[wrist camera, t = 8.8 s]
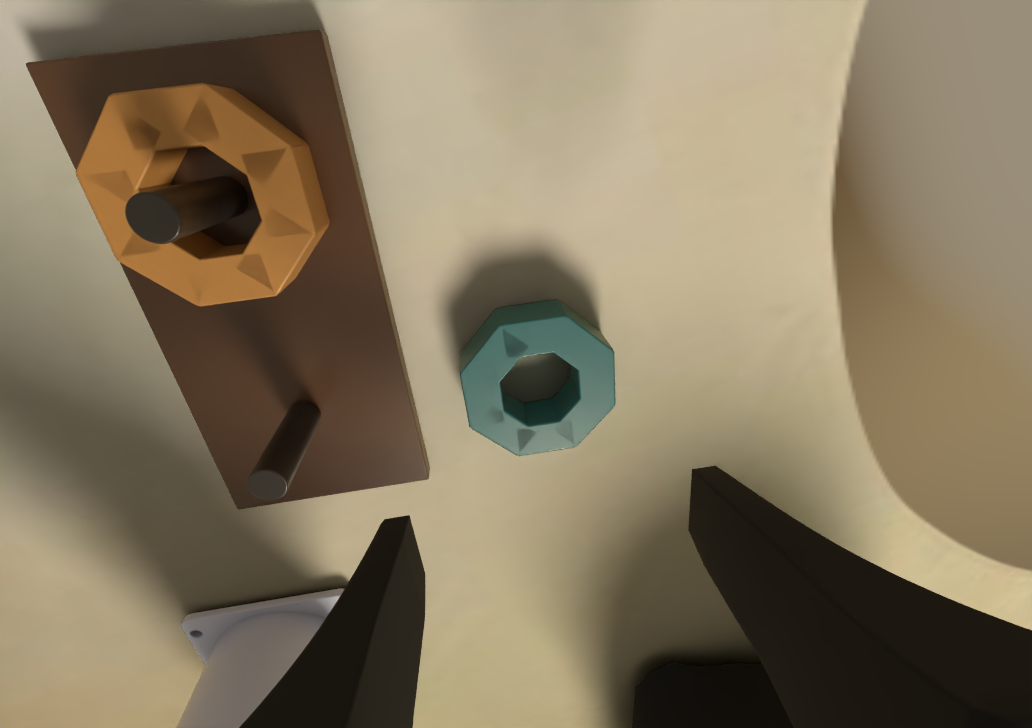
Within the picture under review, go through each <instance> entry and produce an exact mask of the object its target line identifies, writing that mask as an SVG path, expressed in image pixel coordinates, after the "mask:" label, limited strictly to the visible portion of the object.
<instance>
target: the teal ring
mask: <svg viewBox="0 0 1032 728" xmlns="http://www.w3.org/2000/svg"><path fill="white" fill-rule="evenodd" d="M547 353H555V354H556V355H557V356H559V357H560V358H562V359H563V360H564V361H566V362H567V363H569V366H570V379H569V380H568V381H567V382H566V383H565V385H564V386H563V387H562V388H561V389H560V390H559V391H558V392H557V393H556V395H555V396H554V397H553V398H552V399H547V400H540V401H534V402H527V403H522V402H520V401H519V400H517V399H516V398H514V397H513V396H511V395H510V394H508V393H506V392H505V391H503V390H502V389H501V385H500V381H501V380H502V379H503V378H504V377H505V375H506V374H507V373H508V372H509V371H510V369H511V368H512V367H513V366H514V365H515V364H516V362H517V361H518V360H519V359H520V358H521V357H526V356H533V355H540V354H547ZM460 378H461V383H462V389H463V394H464V400H465V405H466V410H467V416H468V421H469V427H470V428H472V429H473V430H475V431H476V432H478V433H480V434H481V435H483V436H485V437H486V438H488V439H490V440H492V441H493V442H495V443H497V444H498V445H500V446H502V447H503V448H505V449H507V450H508V451H510V452H512V453H513V454H515V455H518V456H523V455H529V454H536V453H542V452H548V451H555V450H561V449H567V448H574V447H575V446H577V445H578V444H579V443H580V442H581V441H582V440H583V439H584V438H585V437H586V436H587V435H588V434H589V433H590V432H591V430H592V429H593V428H594V427H595V426H596V425H597V424H598V423H599V422H600V421H601V420H602V419H603V418H604V417H605V416H606V415H607V414H608V413H609V412H610V411H611V409H612V408H613V407H614V405H615V367H614V351H613V349H612V347H611V346H610V345H609V343H608V342H607V340H606V339H605V338H604V336H603V335H602V333H601V332H600V331H598V330H597V329H596V328H595V327H593V326H592V325H591V324H589V323H588V322H587V321H585V320H584V319H583V318H581V317H580V316H579V315H577V314H576V313H575V312H574V311H572V310H571V309H570V308H568V307H567V306H566V305H564V304H563V303H562V302H560V301H559V300H550V301H543V302H536V303H529V304H522V305H515V306H508V307H501V308H497V309H495V310H494V311H493V313H492V314H491V315H490V316H489V318H488V319H487V320H486V321H485V323H484V324H483V325H482V326H481V328H480V329H479V330H478V331H477V333H476V334H475V335H474V336H473V338H472V339H471V340H470V342H469V343H468V344H467V345H466V347H465V348H464V349H463V350H462V352H461V353H460Z"/></svg>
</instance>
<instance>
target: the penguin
mask: <svg viewBox="0 0 1032 728" xmlns="http://www.w3.org/2000/svg"><path fill="white" fill-rule="evenodd" d="M632 728H794V727H793V725H792V723H791V721H790V719H789V716H788V714H787V712H786V710H785V708H784V706H783V704H782V702H781V700H780V698H779V696H778V694H777V692H776V690H775V688H774V686H773V684H772V681H771V679H770V677H769V675H768V673H767V671H766V669H765V668H764V666H763V664H726V665H716V666H707V667H695V666H691V665H686V664H681V663H677V662H672V663H670V664H667V665H665V666H663V667H661V668H659V669H657V670H655V671H653V672H651V673H649V674H648V675H647V676H646V677H645V678H644V679H643V680H642V681H641V682H640V683H638V684H637V685H636V686H635V700H634V713H633V727H632Z"/></svg>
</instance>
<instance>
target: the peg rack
mask: <svg viewBox="0 0 1032 728" xmlns="http://www.w3.org/2000/svg"><path fill="white" fill-rule="evenodd" d="M26 66H27V68H28V70H29V73H30V75H31V77H32V79H33V81H34V83H35V85H36V87H37V89H38V91H39V94H40V96H41V98H42V100H43V102H44V104H45V106H46V108H47V110H48V112H49V115H50V117H51V119H52V121H53V123H54V125H55V127H56V129H57V131H58V133H59V136H60V138H61V140H62V142H63V144H64V146H65V148H66V150H67V152H68V154H69V157H70V159H71V161H72V163H73V165H74V167H75V169H77V167H78V165H79V162H80V160H81V158H82V155H83V153H84V151H85V149H86V146H87V144H88V142H89V139H90V137H91V135H92V133H93V130H94V128H95V126H96V123H97V121H98V119H99V117H100V114H101V112H102V110H103V107H104V105H105V103H106V101H107V98H108V96H110V95H111V94H113V93H121V92H130V91H138V90H147V89H155V88H164V87H172V86H181V85H189V84H198V83H205V84H210V85H216V86H221V87H227V88H232V89H235V90H236V91H237V92H239V93H240V94H241V95H243V96H244V97H245V98H247V99H248V100H250V101H251V102H252V103H254V104H255V105H256V106H258V107H259V108H260V109H262V110H263V111H264V112H266V113H267V114H269V115H270V116H271V117H273V118H274V119H275V120H277V121H278V122H279V123H281V124H282V125H283V126H285V127H286V128H288V129H289V130H290V131H292V132H293V133H294V134H296V135H297V136H298V137H300V138H301V139H302V140H304V141H305V142H307V144H308V145H309V148H310V152H311V155H312V159H313V163H314V166H315V170H316V174H317V177H318V181H319V184H320V188H321V192H322V195H323V199H324V203H325V206H326V210H327V214H328V217H329V221H330V223H329V226H328V228H327V229H326V231H325V232H324V234H323V235H322V237H321V239H320V240H319V242H318V243H317V245H316V247H315V248H314V250H313V251H312V253H311V254H310V256H309V258H308V259H307V261H306V262H305V264H304V266H303V267H302V269H301V270H300V272H299V273H298V275H297V277H296V278H295V279H294V280H293V281H292V282H291V283H290V284H289V285H288V286H287V287H286V288H285V289H283V290H282V291H281V292H280V293H279V294H278V295H277V296H272V297H265V298H258V299H251V300H243V301H236V302H229V303H222V304H215V305H207V306H197V305H195V304H193V303H191V302H190V301H188V300H186V299H184V298H183V297H181V296H179V295H177V294H176V293H174V292H172V291H170V290H168V289H167V288H165V287H163V286H161V285H160V284H158V283H156V282H154V281H153V280H151V279H149V278H147V277H145V276H144V275H142V274H140V273H138V272H137V271H135V270H133V269H131V268H130V267H128V266H126V265H124V264H122V263H121V262H120V264H121V266H122V268H123V270H124V272H125V274H126V276H127V278H128V280H129V282H130V285H131V287H132V289H133V291H134V293H135V295H136V297H137V299H138V301H139V303H140V306H141V308H142V310H143V312H144V314H145V316H146V318H147V320H148V322H149V324H150V327H151V329H152V331H153V333H154V335H155V337H156V339H157V341H158V343H159V345H160V348H161V350H162V352H163V354H164V356H165V358H166V360H167V362H168V364H169V366H170V368H171V371H172V373H173V375H174V377H175V379H176V381H177V383H178V385H179V387H180V389H181V392H182V394H183V396H184V398H185V400H186V402H187V404H188V406H189V408H190V410H191V413H192V415H193V417H194V419H195V421H196V423H197V425H198V427H199V429H200V431H201V434H202V436H203V438H204V440H205V442H206V444H207V446H208V448H209V450H210V452H211V455H212V457H213V459H214V461H215V463H216V465H217V467H218V469H219V471H220V473H221V476H222V478H223V480H224V482H225V484H226V486H227V488H228V490H229V492H230V494H231V497H232V499H233V501H234V503H235V505H236V507H237V509H244V508H251V507H257V506H263V505H270V504H276V503H282V502H288V501H295V500H301V499H307V498H314V497H320V496H326V495H332V494H339V493H345V492H351V491H357V490H364V489H370V488H376V487H383V486H389V485H395V484H401V483H408V482H414V481H420V480H427V479H429V471H430V467H429V463H428V458H427V454H426V450H425V446H424V442H423V437H422V433H421V429H420V425H419V420H418V416H417V412H416V408H415V404H414V399H413V395H412V391H411V387H410V383H409V378H408V374H407V370H406V366H405V361H404V357H403V353H402V349H401V345H400V340H399V336H398V332H397V328H396V324H395V319H394V315H393V311H392V307H391V302H390V298H389V294H388V290H387V286H386V281H385V277H384V273H383V269H382V265H381V260H380V256H379V252H378V248H377V243H376V239H375V235H374V231H373V227H372V222H371V218H370V214H369V210H368V205H367V201H366V197H365V193H364V189H363V184H362V180H361V176H360V172H359V168H358V163H357V159H356V155H355V151H354V146H353V142H352V138H351V134H350V130H349V125H348V121H347V117H346V113H345V109H344V104H343V100H342V96H341V92H340V87H339V83H338V79H337V75H336V71H335V66H334V62H333V58H332V54H331V50H330V45H329V41H328V37H327V35H326V34H325V33H324V32H322V31H321V30H319V29H318V30H309V31H300V32H291V33H282V34H274V35H265V36H256V37H247V38H239V39H230V40H221V41H212V42H203V43H195V44H186V45H177V46H168V47H159V48H151V49H142V50H133V51H124V52H116V53H107V54H98V55H89V56H80V57H72V58H63V59H54V60H45V61H37V62H28V63H26ZM171 184H172V186H169V187H164V188H159V189H154V190H149V191H144V192H139V193H136V194H135V195H133V196H132V197H131V198H130V199H129V200H128V202H127V204H126V208H125V215H126V219H127V222H128V224H129V226H130V227H131V229H132V230H133V231H134V232H135V233H136V234H137V235H138V236H140V237H141V238H143V239H144V240H146V241H149V242H152V243H156V244H167V243H170V242H173V241H175V240H178V239H181V238H183V237H186V236H188V235H191V234H193V233H196V232H198V231H201V232H203V233H204V234H206V235H207V236H209V237H211V238H212V239H214V240H216V241H217V242H219V243H220V244H222V245H224V246H230V245H238V244H245V243H248V242H249V241H250V239H251V237H252V235H253V234H254V232H255V230H256V229H257V227H258V225H259V223H260V222H261V220H262V219H261V216H260V213H259V210H258V207H257V204H256V201H255V198H254V195H253V192H252V189H251V186H250V183H249V180H248V177H247V175H246V174H244V173H243V172H242V171H240V170H239V169H237V168H236V167H234V166H233V165H231V164H230V163H228V162H227V161H225V160H224V159H222V158H221V157H220V156H218V155H217V154H215V153H214V152H212V151H211V150H209V149H208V148H206V147H198V148H190V149H188V150H187V152H186V154H185V156H184V158H183V160H182V162H181V164H180V166H179V168H178V170H177V172H176V174H175V176H174V178H173V180H172V182H171Z"/></svg>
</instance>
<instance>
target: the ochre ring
mask: <svg viewBox="0 0 1032 728" xmlns="http://www.w3.org/2000/svg"><path fill="white" fill-rule="evenodd" d="M198 147H206V148H208V149H209V150H211V151H212V152H214V153H215V154H217V155H218V156H220V157H221V158H222V159H224V160H225V161H227V162H228V163H230V164H231V165H233V166H234V167H236V168H237V169H239V170H240V171H242V172H243V173H244V174H246V175H247V177H248V180H249V183H250V186H251V189H252V192H253V195H254V198H255V201H256V204H257V207H258V210H259V213H260V216H261V219H262V220H261V222H260V223H259V225H258V227H257V229H256V230H255V232H254V234H253V235H252V237H251V239H250V241H249V242H248V243H245V244H238V245H230V246H224V245H222V244H220V243H219V242H217V241H216V240H214V239H212V238H211V237H209V236H207V235H206V234H204V233H203V232H201V231H198V232H196V233H193V234H191V235H188V236H186V237H183V238H181V239H178V240H175V241H173V242H170V243H167V244H156V243H152V242H149V241H146V240H144V239H143V238H141V237H140V236H138V235H137V234H136V233H135V232H134V231H133V230H132V229H131V227H130V226H129V224H128V222H127V219H126V215H125V208H126V204H127V202H128V200H129V199H130V198H131V197H132V196H133V195H135V194H136V193H139V192H144V191H149V190H154V189H159V188H164V187H169V186H172V184H171V182H172V180H173V178H174V176H175V174H176V172H177V170H178V168H179V166H180V164H181V162H182V160H183V158H184V156H185V154H186V152H187V150H188V149H190V148H198ZM76 173H77V174H76V175H77V178H78V180H79V182H80V184H81V186H82V188H83V190H84V193H85V195H86V197H87V199H88V201H89V203H90V205H91V207H92V209H93V211H94V213H95V216H96V218H97V220H98V222H99V224H100V226H101V228H102V230H103V232H104V234H105V236H106V239H107V241H108V243H109V245H110V247H111V249H112V251H113V253H114V255H115V257H116V258H117V260H118V261H119V262H121V263H122V264H124V265H126V266H128V267H130V268H131V269H133V270H135V271H137V272H138V273H140V274H142V275H144V276H145V277H147V278H149V279H151V280H153V281H154V282H156V283H158V284H160V285H161V286H163V287H165V288H167V289H168V290H170V291H172V292H174V293H176V294H177V295H179V296H181V297H183V298H184V299H186V300H188V301H190V302H191V303H193V304H195V305H197V306H207V305H215V304H222V303H229V302H236V301H243V300H251V299H258V298H265V297H272V296H277V295H278V294H279V293H280V292H281V291H282V290H283V289H285V288H286V287H287V286H288V285H289V284H290V283H291V282H292V281H293V280H294V279H295V278H296V277H297V275H298V273H299V272H300V270H301V269H302V267H303V266H304V264H305V262H306V261H307V259H308V258H309V256H310V254H311V253H312V251H313V250H314V248H315V247H316V245H317V243H318V242H319V240H320V239H321V237H322V235H323V234H324V232H325V231H326V229H327V228H328V226H329V223H330V221H329V217H328V214H327V210H326V206H325V203H324V199H323V195H322V192H321V188H320V184H319V181H318V177H317V174H316V170H315V166H314V163H313V159H312V155H311V152H310V148H309V145H308V144H307V142H305V141H304V140H302V139H301V138H300V137H298V136H297V135H296V134H294V133H293V132H292V131H290V130H289V129H288V128H286V127H285V126H283V125H282V124H281V123H279V122H278V121H277V120H275V119H274V118H273V117H271V116H270V115H269V114H267V113H266V112H264V111H263V110H262V109H260V108H259V107H258V106H256V105H255V104H254V103H252V102H251V101H250V100H248V99H247V98H245V97H244V96H243V95H241V94H240V93H239V92H237V91H236V90H235V89H232V88H227V87H221V86H216V85H210V84H205V83H198V84H189V85H181V86H172V87H164V88H155V89H147V90H138V91H130V92H121V93H113V94H111V95H110V96H108V98H107V101H106V103H105V105H104V107H103V110H102V112H101V114H100V117H99V119H98V121H97V123H96V126H95V128H94V130H93V133H92V135H91V137H90V139H89V142H88V144H87V146H86V149H85V151H84V153H83V155H82V158H81V160H80V162H79V165H78V167H77V169H76Z"/></svg>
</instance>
